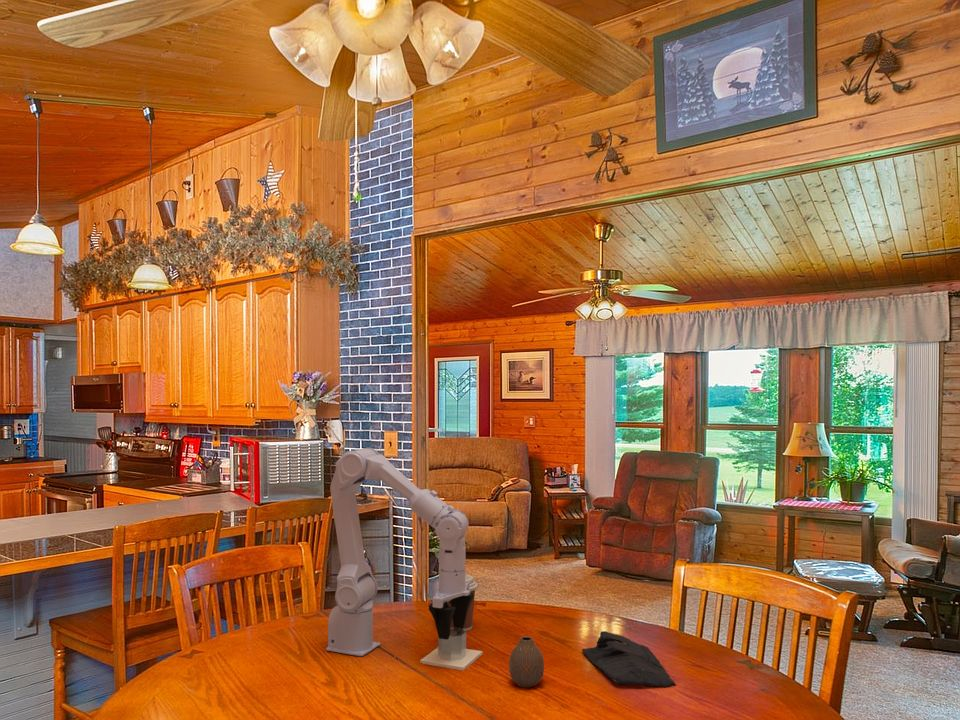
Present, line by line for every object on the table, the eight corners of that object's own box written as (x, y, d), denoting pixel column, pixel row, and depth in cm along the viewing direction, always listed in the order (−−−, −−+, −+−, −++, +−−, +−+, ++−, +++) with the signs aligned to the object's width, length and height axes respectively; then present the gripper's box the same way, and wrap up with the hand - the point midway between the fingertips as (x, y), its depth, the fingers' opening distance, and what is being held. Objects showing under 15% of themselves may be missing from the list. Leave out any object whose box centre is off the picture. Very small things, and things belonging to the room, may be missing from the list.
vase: (520, 693, 139) (520, 646, 139) (502, 680, 145) (502, 635, 145) (551, 686, 142) (550, 640, 142) (532, 674, 148) (532, 630, 148)
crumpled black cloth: (603, 692, 140) (603, 667, 140) (579, 651, 162) (579, 629, 162) (681, 690, 141) (681, 665, 141) (647, 649, 163) (647, 628, 163)
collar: (434, 658, 155) (434, 634, 155) (446, 649, 160) (446, 626, 160) (458, 662, 153) (458, 637, 153) (469, 653, 158) (469, 629, 158)
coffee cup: (439, 622, 180) (439, 573, 181) (475, 620, 181) (475, 572, 182) (441, 634, 171) (441, 582, 172) (479, 633, 172) (479, 581, 173)
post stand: (420, 663, 154) (420, 636, 154) (441, 647, 163) (441, 622, 163) (463, 670, 150) (463, 642, 150) (482, 654, 159) (482, 628, 159)
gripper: (454, 579, 149) (454, 646, 148) (482, 563, 162) (481, 625, 162) (423, 575, 151) (423, 641, 151) (453, 560, 165) (452, 620, 164)
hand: (451, 632), depth 156 cm, fingers open, 7 cm apart
